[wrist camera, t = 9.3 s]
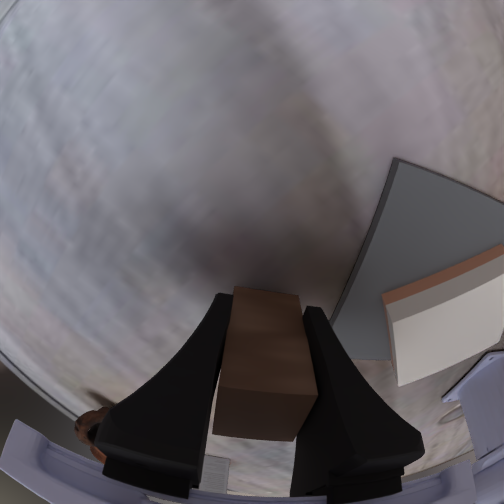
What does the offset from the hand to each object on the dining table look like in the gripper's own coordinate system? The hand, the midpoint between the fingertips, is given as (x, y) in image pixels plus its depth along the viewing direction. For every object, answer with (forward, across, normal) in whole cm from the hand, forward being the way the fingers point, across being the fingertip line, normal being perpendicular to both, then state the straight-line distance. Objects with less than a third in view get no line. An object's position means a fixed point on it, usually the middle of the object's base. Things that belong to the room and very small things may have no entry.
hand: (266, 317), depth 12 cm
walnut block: (+2, 0, +2) cm, 2 cm away
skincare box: (+3, +1, +37) cm, 37 cm away
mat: (+3, -10, -1) cm, 10 cm away
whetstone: (+1, -13, +3) cm, 13 cm away
